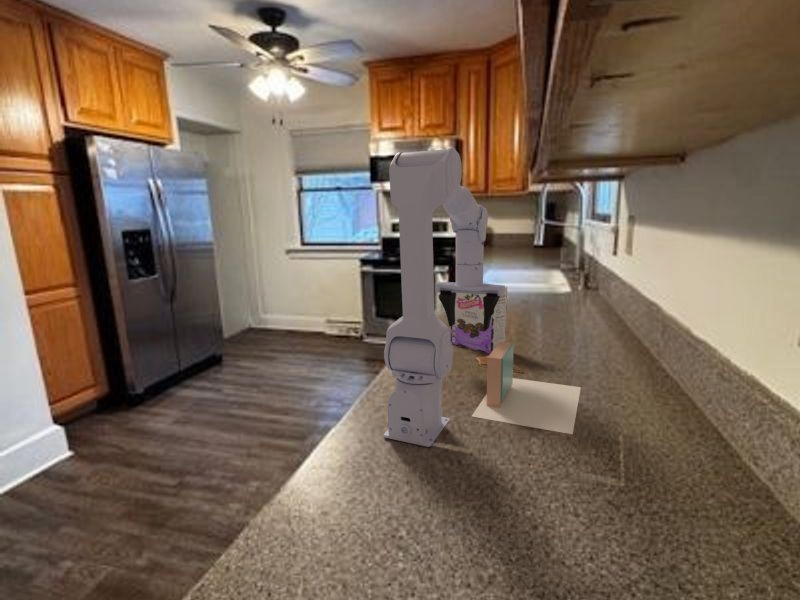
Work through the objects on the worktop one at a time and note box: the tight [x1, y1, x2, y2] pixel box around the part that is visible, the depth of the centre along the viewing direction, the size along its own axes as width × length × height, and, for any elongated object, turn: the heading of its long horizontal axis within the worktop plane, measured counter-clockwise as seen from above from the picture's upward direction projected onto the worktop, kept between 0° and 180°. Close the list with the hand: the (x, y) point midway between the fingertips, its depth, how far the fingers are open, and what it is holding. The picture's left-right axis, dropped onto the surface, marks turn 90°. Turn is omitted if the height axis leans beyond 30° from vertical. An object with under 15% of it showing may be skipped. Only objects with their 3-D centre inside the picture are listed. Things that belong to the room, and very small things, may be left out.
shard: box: [475, 355, 525, 374], centre depth 99 cm, size 11×8×2 cm
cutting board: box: [471, 377, 582, 435], centre depth 81 cm, size 20×16×1 cm
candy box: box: [450, 286, 508, 355], centre depth 114 cm, size 14×6×16 cm, turn 42°
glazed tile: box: [486, 341, 515, 408], centre depth 83 cm, size 10×3×9 cm, turn 155°
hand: (468, 326), depth 96 cm, fingers open, 7 cm apart
